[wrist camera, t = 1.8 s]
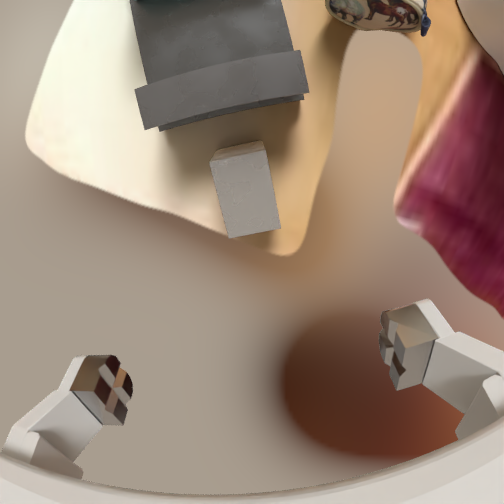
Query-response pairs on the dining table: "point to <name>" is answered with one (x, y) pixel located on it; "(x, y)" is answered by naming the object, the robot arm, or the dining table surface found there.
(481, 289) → the dining table surface
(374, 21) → the pencil case
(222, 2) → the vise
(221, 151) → the steel block
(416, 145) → the dining table surface
